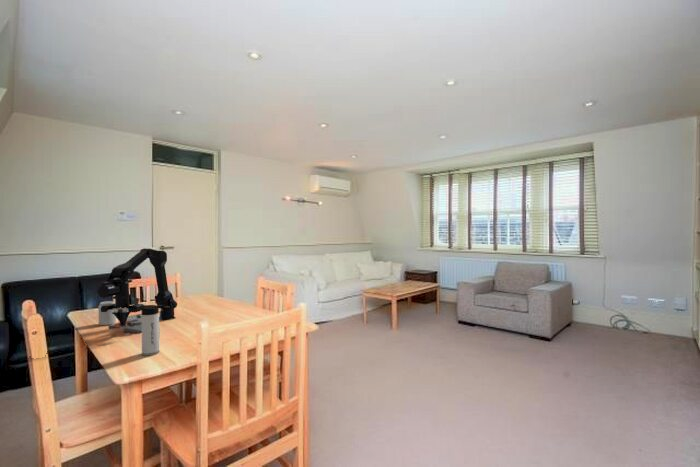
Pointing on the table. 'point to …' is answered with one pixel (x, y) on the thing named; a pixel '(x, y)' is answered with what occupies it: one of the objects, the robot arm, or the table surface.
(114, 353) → the table surface
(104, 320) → the can
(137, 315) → the lid
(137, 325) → the pot
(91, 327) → the table surface
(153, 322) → the travel mug
